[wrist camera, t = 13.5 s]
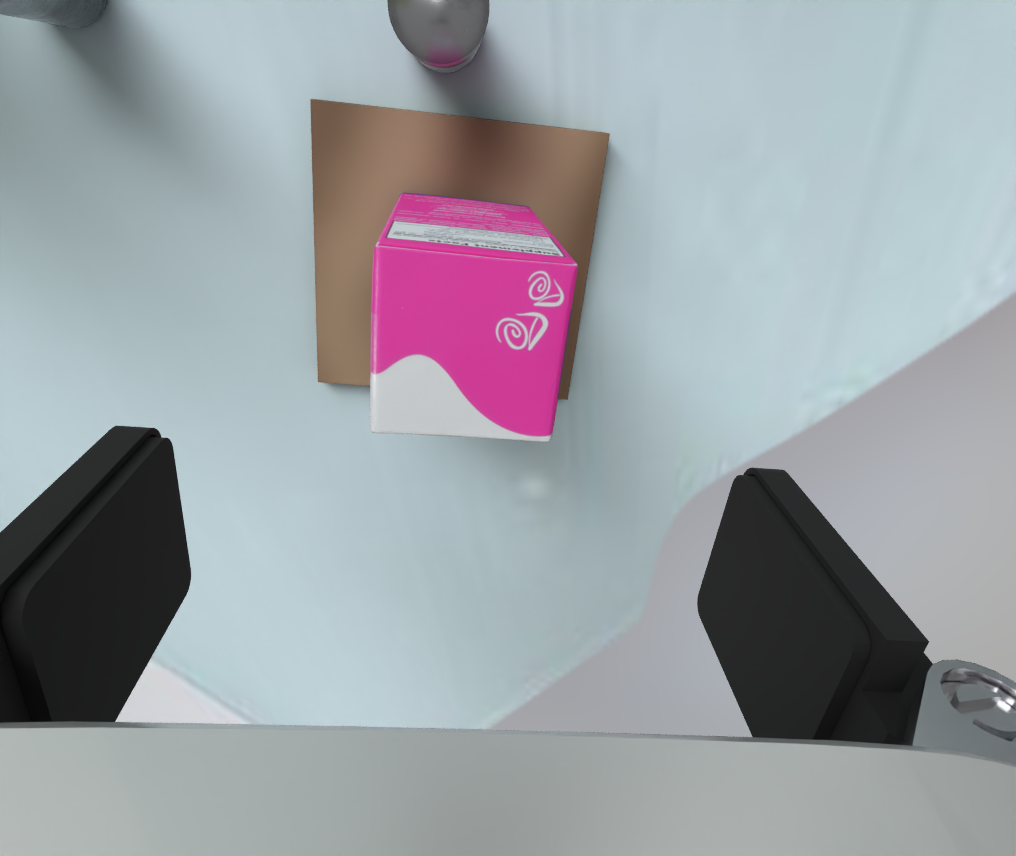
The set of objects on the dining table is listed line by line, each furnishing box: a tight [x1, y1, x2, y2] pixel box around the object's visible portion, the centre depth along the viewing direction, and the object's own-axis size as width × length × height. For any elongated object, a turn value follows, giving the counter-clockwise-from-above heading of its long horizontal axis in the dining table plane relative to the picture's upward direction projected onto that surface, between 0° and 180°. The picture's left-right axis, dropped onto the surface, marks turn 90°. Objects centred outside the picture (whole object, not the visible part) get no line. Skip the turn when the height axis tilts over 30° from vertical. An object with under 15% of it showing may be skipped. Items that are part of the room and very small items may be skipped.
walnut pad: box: [311, 99, 610, 399], centre depth 29 cm, size 12×12×1 cm
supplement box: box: [370, 193, 578, 442], centre depth 24 cm, size 6×6×12 cm
